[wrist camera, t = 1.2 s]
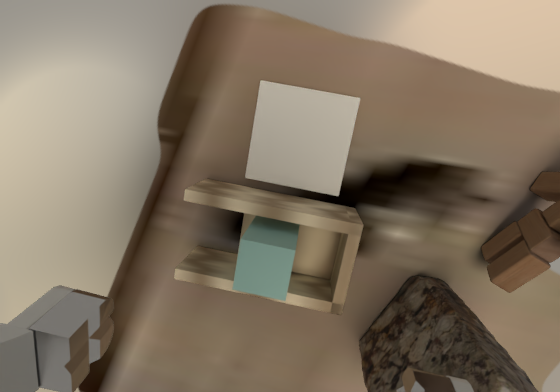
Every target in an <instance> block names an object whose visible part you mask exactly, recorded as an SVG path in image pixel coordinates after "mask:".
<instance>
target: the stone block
mask: <svg viewBox="0 0 560 392" xmlns="http://www.w3.org/2000/svg"><path fill="white" fill-rule="evenodd" d="M359 347H360V352H361V358H362V370H363V376H364V382H365V385H366V387H367V390H368V392H396V390H397V389H399V388H401V387H402V386H404V385H403V381H402V376H403V373H404V371H405V370H406V369H407V368H408V367H409V368H414V369H418V370H423V371H427V372H432V373H436V374H441V375H445V376H451V377H455V378H460V379H465V380H467V381H468V382H469V383H470V384H471V386H472V388H473V391H474V392H538V391H537V389H536V388H535V387H534V385H533V384H532V382H531V381H530V379H529V378H528V376H527V374H526V373H525V372H524V371H523V370H522V369H521V368H520V367H519V366H518V365H517V364H516V363H515V362H514V360H513V359H512V358H511V357H510V355H509V354H508V352H507V351H506V350H505V349H504V348H503V347H502V346H501V345H500V344H499V343H498V342H497V341H496V340H495V338H494V336H493V335H492V334H491V333H490V332H489V331H488V330H487V329H486V327H485V326H484V325H483V323H482V322H481V321H480V320H479V319H478V317H477V316H476V315H475V314H474V313H473V312H472V311H471V310H470V309H469V308H468V307H467V306H466V305H465V303H464V302H463V300H462V299H460V298H459V297H458V295H457V294H456V293H455V292H454V291H453V290H452V289H451V288H450V287H449V285H448V284H446V283H445V282H444V281H442V280H440V279H435V278H432V277H430V278H428V277H419V276H416V277H412V278H410V279H409V280H408V281H407V282H406V283H405V284H404V286H403V287H402V289H401V290H400V291H399V293H398V294H397V296H396V297H395V298H394V299H393V300H392V301H391V303H390V304H389V305H388V306H387V307H386V309H385V310H384V311H383V312H382V314H381V315H380V316H379V318H378V319H377V320H376V321H375V322H374V323H373V324H372V326H371V327H370V329H369V331H368V332H367V334H366V335H365V336H364V337H363V338H362V339H361V340H360V342H359Z"/></svg>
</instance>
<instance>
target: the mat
mask: <svg viewBox="0 0 560 392" xmlns="http://www.w3.org/2000/svg"><path fill="white" fill-rule="evenodd" d="M359 102H360V98H357V97H352V96H346V95H341V94H335V93H329V92H324V91H318V90H313V89H307V88H301V87H296V86H290V85H285V84H279V83H274V82H268V81H262V80H261V81H260V87H259V93H258V100H257V106H256V112H255V118H254V125H253V131H252V137H251V143H250V150H249V156H248V162H247V168H246V174H245V178H248V179H253V180H258V181H263V182H268V183H274V184H279V185H284V186H289V187H294V188H299V189H304V190H309V191H314V192H319V193H324V194H329V195H334V196H339V192H340V187H341V183H342V178H343V174H344V169H345V165H346V160H347V156H348V152H349V147H350V143H351V138H352V134H353V129H354V125H355V120H356V116H357V111H358V107H359Z"/></svg>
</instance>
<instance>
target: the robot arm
mask: <svg viewBox="0 0 560 392" xmlns="http://www.w3.org/2000/svg"><path fill="white" fill-rule="evenodd" d="M113 311H114V300H112V299H111V298H108V297H104V296H100V295H97V294H93V293H89V292H85V291H81V290H75V289H72V288H68V287H64V286H56V287H53V288H52V289H51V290H50V291H48V292H47V293H46V294H45V295H43V296H42V297H41V298H39V299H38V300H37V301H36V302H34V303H33V304H32V305H31V306H29V307H28V308H27V309H26V310H24V311H23V312H22V313H21V314H19V315H18V316H17V317H16V318H14V319H13V320H12V321H11V322H9V323H8V324H3V323H0V392H35V391H37V390H38V389H39V387H40V388H44V389H49V390H54V391H59V392H74V391H75V390H76V389H77V387H78V386H79V385H80V384H81V382H82V381H83V380H84V378H85V377H86V376H87V375H88V373H89V364H90V363H92V362H94V361H96V360H98V359H100V358H101V357H102V355H103V354H104V352H105V351H106V350H107V348H108V346H109V344H110V341H111V339H112V336H113V331H114V322H113V321H112V320H111V318H110V317H109V315H110V314H111V313H112V312H113ZM402 381H403V385H404V386H402V387H401V388H399V389H397V390H396V392H474V391H473V388H472V386H471V384H470V383H469V382H468V381H467V380H465V379H460V378H455V377H451V376H445V375H441V374H436V373H432V372H427V371H423V370H418V369H414V368H409V367H408V368H407V369H406V370H405V371H404V373H403V376H402Z"/></svg>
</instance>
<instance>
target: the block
mask: <svg viewBox="0 0 560 392" xmlns="http://www.w3.org/2000/svg"><path fill="white" fill-rule="evenodd" d="M299 226H300V224H296V223H291V222H286V221H281V220H276V219H271V218H266V217H261V216H257V215H256V216H255V218H254V219H253V221H252V222H251V224H250V225H249V227H248V229H247V230H246V232H245V233H244V235H243V236H242V238H241V240H240V246H239V252H238V258H237V264H236V270H235V276H234V283H233V289H232V290H237V291H242V292H246V293H251V294H255V295H260V296H265V297H269V298H274V299H278V300H283V301H286V296H287V291H288V286H289V281H290V276H291V271H292V266H293V261H294V256H295V251H296V245H297V239H298V233H299Z"/></svg>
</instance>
